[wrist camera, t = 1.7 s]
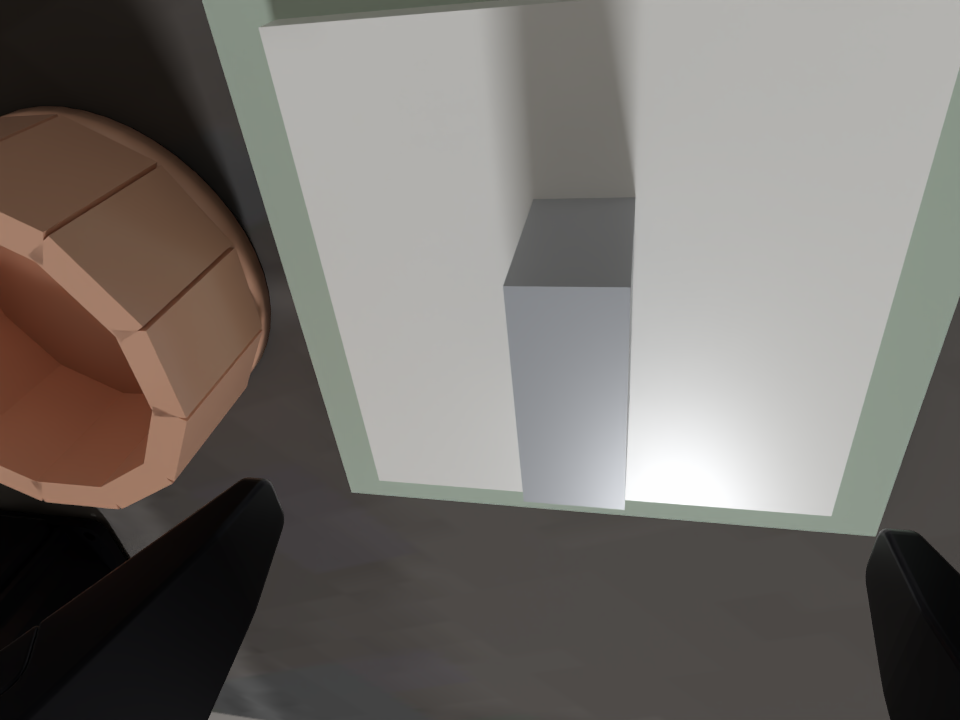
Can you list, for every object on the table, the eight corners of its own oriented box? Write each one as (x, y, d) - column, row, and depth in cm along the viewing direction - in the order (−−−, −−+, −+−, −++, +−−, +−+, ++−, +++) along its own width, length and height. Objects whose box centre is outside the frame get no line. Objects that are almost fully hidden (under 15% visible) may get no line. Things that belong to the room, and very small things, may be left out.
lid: (825, 492, 18) (865, 644, 14) (387, 461, 20) (334, 582, 17) (969, -41, 11) (1114, 8, 7) (277, 19, 13) (149, 75, 10)
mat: (869, 518, 19) (875, 536, 18) (358, 478, 22) (351, 492, 21) (1101, -173, 10) (1124, -175, 9) (200, -65, 13) (183, -62, 13)
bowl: (306, 405, 20) (233, 520, 17) (57, 392, 22) (-54, 492, 19) (205, 96, 15) (70, 168, 12) (-107, 114, 17) (-302, 181, 14)
